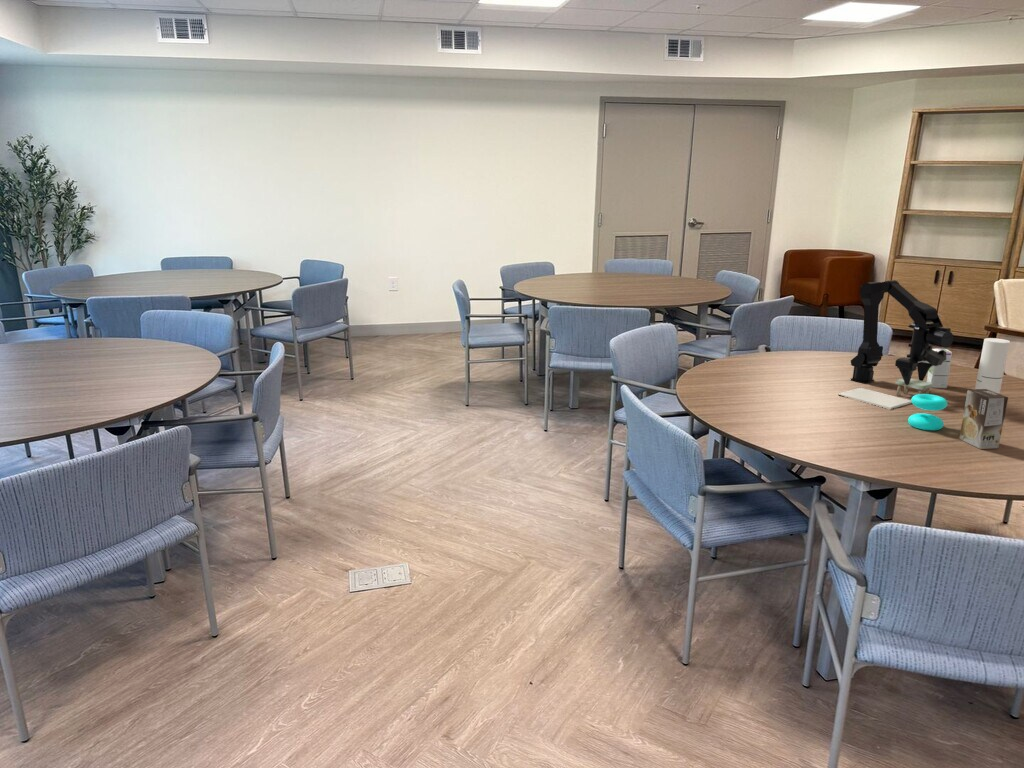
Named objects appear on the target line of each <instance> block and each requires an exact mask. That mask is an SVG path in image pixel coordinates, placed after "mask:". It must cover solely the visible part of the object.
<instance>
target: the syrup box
mask: <svg viewBox="0 0 1024 768" xmlns="http://www.w3.org/2000/svg"><path fill="white" fill-rule="evenodd" d="M932 350H934V351H937V352H939V351H941V350H944V351H946V360H944V361H943V363H942V364H941V365H938V366H932V367H930V369H929V370H928V372H927V374H926V381H925V382H929V383H933V387H932V388H934V389H947V388H948V382H949V377H950V371H951V370H950V369H951V363H952V356H953V352H952V351H951V350H950V349H947V348H941V347H940V348H932Z"/></svg>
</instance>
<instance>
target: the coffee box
mask: <svg viewBox="0 0 1024 768" xmlns="http://www.w3.org/2000/svg"><path fill="white" fill-rule="evenodd" d="M1008 401H1009V397H1008V396H1006V395H1003V394H998V393H995V392H993V391H990V390H987V389H975V388H974V389H968V390H967V392H966V399H965V403H964V409H963V416H962V419H961V420H962V421H961V426H960V434H959V440H960V441H963V442H965V443H967V444H969V445H971V446H972V447H973V446H974V448H977V449H980V450H984V449H998V448H999V446H1000V444H1001V443H1000V442H1001V436H1002V432H1003V428H1004V427H1003V426H1004V421H1005V415H1006V411H1007V405H1008Z"/></svg>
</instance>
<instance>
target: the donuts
mask: <svg viewBox="0 0 1024 768" xmlns="http://www.w3.org/2000/svg"><path fill="white" fill-rule="evenodd" d="M910 400H911V401H912V403H911V404H912V405H913V406H915V407H916V408H917V409H921V410H926V411H942V410H944V409H946V408H947V407H948V400H946V398H945V397H943V396H939V395H937V394H930V393H929V394H925V393H922V394H918V393H917V394H915V395H913V396H912V397H911V399H910ZM907 422H908V424H909V425H910V426H911V427H913V428H916V429H919V430H924V431H939V430H941V429H942V428H943V427H944V425H945V423H944V421H943V419H942V418H940V417H939V416H936V415H934V414H930V413H923V412H922V413H921V412H920V413H913V414H912V415H910V416H909V417H908V418H907Z"/></svg>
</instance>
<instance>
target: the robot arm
mask: <svg viewBox="0 0 1024 768" xmlns="http://www.w3.org/2000/svg"><path fill="white" fill-rule="evenodd" d="M885 293H887V294H888V295H889V296H891V297H892V299H893V298H894V300H895V301H897V302H898V303H899V304H900V305H901V306H903V308H905V310H907V312H908V316H909V317H910V319H911V320H912V321H913V322H912V323H911V324H909V325H908V328H911V329H912V337H911V342H910V343H908V346H907V347H910V349H909V353H908V354H906V357H905V356H904V357H899V358H897V359H896V360H895V363H894V366H895V367H897V369H898V371H899V372H900V374H901V377H902V378H903V380H904V382H905V385H909V383H910V380H911V378H912V375H913V372H915V371H917V375H918V376H917V377H918V380H921V381H925V380H924V379H925V378H926V377H927V374H928V370H929V369H930V367H932V366H938V365H941V364H942V363H943V361H944V360H946V351H944V350H941V351H939V352H937V351H934V350H932V349H933V346H936V347H940V348H944V349H947V348H949V347H950V346H951V345H952V344H953V342H954V339H955V337H954V334H953V333H952V332H951V328H950V327H944V326H943V322H942V321H941V319H940V315H939V314H938V312H939V311H938V310H937V309H936V308H935V307H933V306H931V305H930V304H928V303H925V302H924V301H923V302H922V301H920V300H918V298H916V297H915V296H914V295H913V294H912V293H910V292H909V291H908V290H907V289H906V288H905V287H903V286H902V285H901V284H900V283H899V281H898V280H895V279H894V280H893V279H892V280H886V281H881V282H880V281H873V282H871V281H870V282H864V283H863V284H862V285H861V286H860V287H859V294H860V295H859V297H860V300H861V302H862V303H863V306H864V308H863V331H862V332H863V333H862V342H861V343H860V346H859V347H858V349H857V354H856V356H854V357H853V358H852V359H851V360H850V366H852V367H853V373H852V377H851V378H850V379H851V380H850V381H853V380H855V381H854V382H857V381H858V382H857V383H861V382H862V384H868V383H872V382H875V380H874V375H875V373H874V372H875V371H874V367H877V366H878V364H879V363H880V361H882V357H883V356H884V355H883V349H884V347H883V345H880V344H879V342H878V333H879V332H878V331H879V330H878V329H879V327H878V326H879V308H880V307H879V306H880V304H881V302H882V300H884V296H885Z"/></svg>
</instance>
